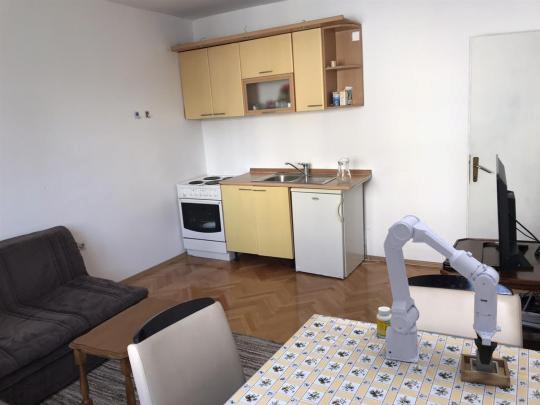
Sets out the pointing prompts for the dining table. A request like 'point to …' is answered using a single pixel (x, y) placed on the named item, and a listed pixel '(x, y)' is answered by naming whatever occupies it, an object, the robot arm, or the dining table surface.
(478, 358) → the grey rectangular block
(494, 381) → the box
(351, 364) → the dining table surface
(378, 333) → the supplement bottle
